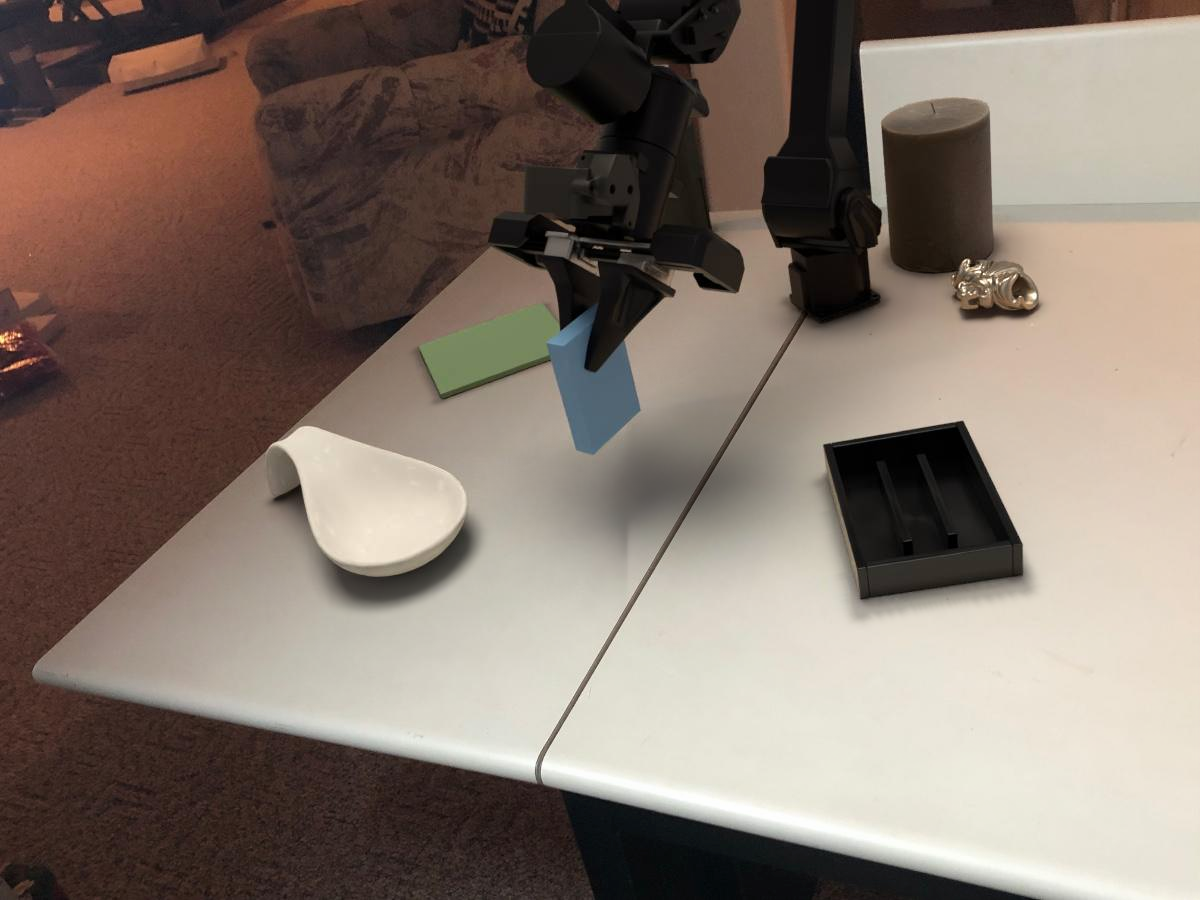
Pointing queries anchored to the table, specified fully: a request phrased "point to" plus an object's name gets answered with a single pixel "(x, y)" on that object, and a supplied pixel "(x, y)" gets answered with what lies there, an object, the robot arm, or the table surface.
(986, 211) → the pillar candle
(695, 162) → the candle
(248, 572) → the table surface
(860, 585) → the dish rack
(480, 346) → the mat
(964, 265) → the ornament
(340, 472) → the spoon rest
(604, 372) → the blue rectangular block
